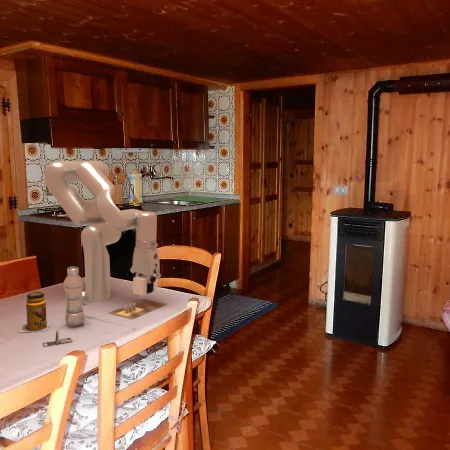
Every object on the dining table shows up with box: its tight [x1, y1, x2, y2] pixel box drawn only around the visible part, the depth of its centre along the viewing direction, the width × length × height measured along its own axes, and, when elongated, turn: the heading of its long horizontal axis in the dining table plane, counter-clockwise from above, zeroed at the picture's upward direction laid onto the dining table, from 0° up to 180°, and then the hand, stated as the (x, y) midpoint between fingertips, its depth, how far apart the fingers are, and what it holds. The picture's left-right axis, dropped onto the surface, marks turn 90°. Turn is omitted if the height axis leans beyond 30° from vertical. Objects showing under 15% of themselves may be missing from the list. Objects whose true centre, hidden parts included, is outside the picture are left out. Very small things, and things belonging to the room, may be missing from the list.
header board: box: [107, 298, 168, 321], centre depth 164 cm, size 20×12×4 cm, turn 149°
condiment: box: [18, 291, 50, 333], centre depth 147 cm, size 7×8×12 cm
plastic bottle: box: [63, 266, 86, 327], centre depth 150 cm, size 6×7×20 cm
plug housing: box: [132, 275, 158, 296], centre depth 167 cm, size 8×4×6 cm, turn 149°
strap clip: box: [42, 329, 73, 348], centre depth 135 cm, size 8×3×4 cm, turn 117°
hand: (144, 290), depth 168 cm, fingers closed on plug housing, 4 cm apart
